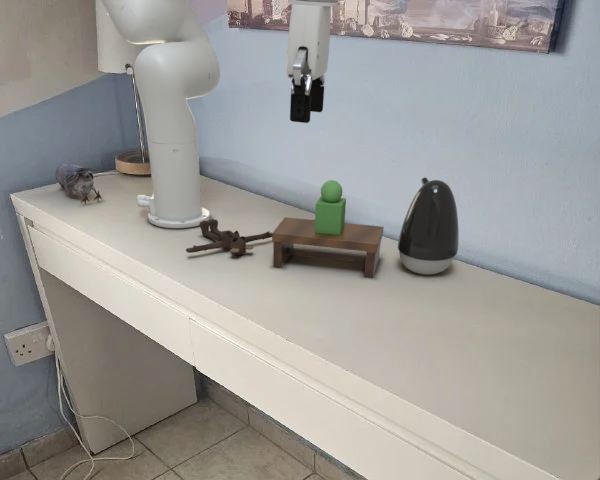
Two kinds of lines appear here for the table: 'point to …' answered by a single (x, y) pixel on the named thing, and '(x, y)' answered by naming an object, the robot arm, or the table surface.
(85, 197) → the bird
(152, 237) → the table surface
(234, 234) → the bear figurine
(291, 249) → the bench
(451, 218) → the pump dispenser
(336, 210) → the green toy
